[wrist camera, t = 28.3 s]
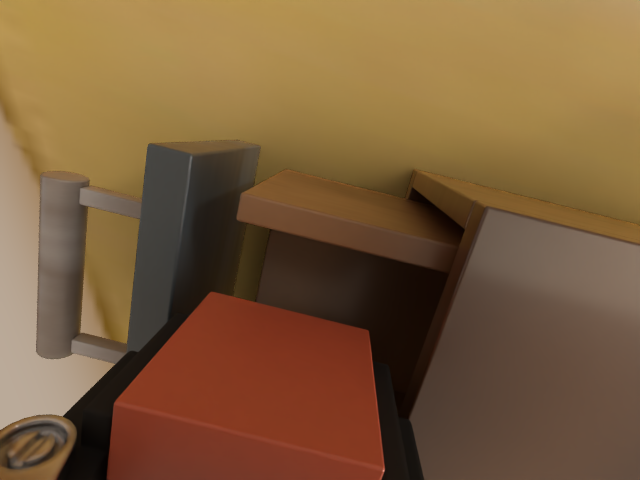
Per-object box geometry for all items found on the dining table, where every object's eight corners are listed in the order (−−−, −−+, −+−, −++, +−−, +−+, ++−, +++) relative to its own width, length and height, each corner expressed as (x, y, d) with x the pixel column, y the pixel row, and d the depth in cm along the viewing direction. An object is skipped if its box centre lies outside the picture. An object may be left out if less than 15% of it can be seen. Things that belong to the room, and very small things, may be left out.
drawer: (111, 330, 20) (-29, 446, 13) (130, 113, 17) (-42, 95, 9) (444, 414, 20) (501, 581, 13) (526, 211, 17) (668, 272, 9)
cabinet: (346, 388, 21) (345, 586, 12) (413, 168, 18) (486, 205, 8) (598, 452, 21) (795, 700, 12) (716, 243, 18) (1128, 364, 8)
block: (210, 289, 10) (112, 402, 6) (369, 329, 10) (386, 470, 6) (188, 421, 12) (93, 592, 7) (330, 456, 12) (321, 648, 7)
